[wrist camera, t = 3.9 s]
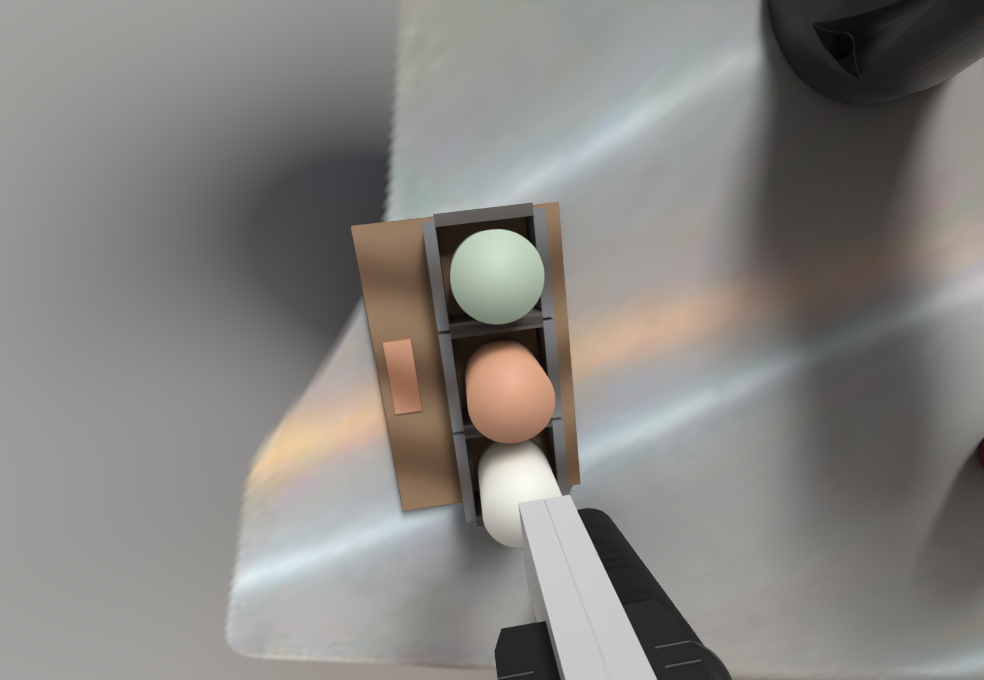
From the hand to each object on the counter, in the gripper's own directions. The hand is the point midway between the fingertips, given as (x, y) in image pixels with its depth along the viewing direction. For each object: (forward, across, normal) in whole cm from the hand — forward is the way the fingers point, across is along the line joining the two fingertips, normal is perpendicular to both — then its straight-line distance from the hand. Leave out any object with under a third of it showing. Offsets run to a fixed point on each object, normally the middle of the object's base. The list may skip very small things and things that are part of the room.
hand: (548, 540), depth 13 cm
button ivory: (+16, 0, -6) cm, 17 cm away
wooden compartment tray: (+20, -1, 0) cm, 20 cm away
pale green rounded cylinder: (+16, 0, +7) cm, 17 cm away
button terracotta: (+16, 0, 0) cm, 16 cm away
